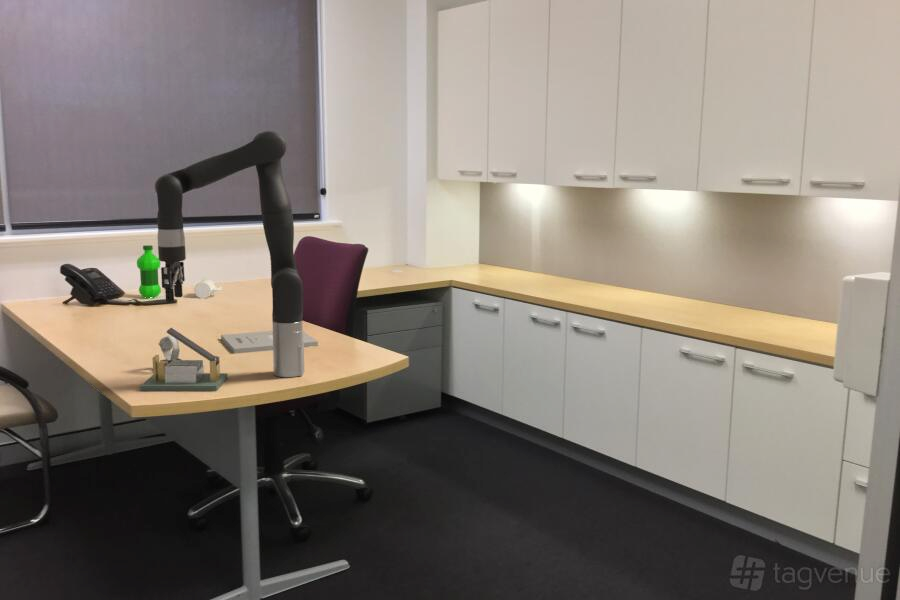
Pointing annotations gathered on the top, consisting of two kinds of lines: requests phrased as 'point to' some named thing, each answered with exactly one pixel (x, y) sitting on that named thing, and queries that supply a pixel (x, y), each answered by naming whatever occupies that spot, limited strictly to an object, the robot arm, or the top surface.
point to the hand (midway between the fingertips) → (174, 299)
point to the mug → (205, 288)
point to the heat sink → (184, 371)
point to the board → (201, 385)
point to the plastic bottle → (149, 273)
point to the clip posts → (160, 366)
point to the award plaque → (257, 341)
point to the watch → (169, 348)
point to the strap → (192, 345)
